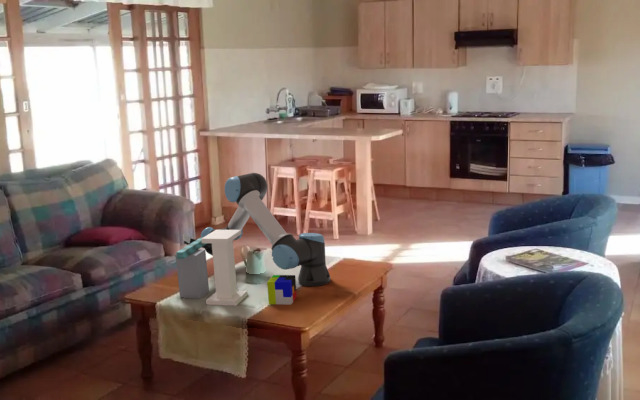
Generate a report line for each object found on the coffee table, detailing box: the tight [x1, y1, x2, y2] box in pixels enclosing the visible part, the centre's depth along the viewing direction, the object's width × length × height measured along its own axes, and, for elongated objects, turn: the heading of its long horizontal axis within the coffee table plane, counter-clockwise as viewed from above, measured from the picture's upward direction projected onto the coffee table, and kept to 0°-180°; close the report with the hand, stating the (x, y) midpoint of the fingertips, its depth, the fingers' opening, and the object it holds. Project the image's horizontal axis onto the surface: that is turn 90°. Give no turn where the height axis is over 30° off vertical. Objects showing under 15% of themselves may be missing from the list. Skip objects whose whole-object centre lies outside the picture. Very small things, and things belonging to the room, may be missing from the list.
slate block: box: [175, 248, 210, 299], centre depth 317 cm, size 10×10×20 cm
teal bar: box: [175, 236, 207, 259], centre depth 317 cm, size 26×3×3 cm, turn 165°
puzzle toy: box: [266, 274, 297, 305], centre depth 303 cm, size 10×10×10 cm
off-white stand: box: [201, 229, 249, 306], centre depth 306 cm, size 16×14×30 cm
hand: (197, 236), depth 322 cm, fingers open, 13 cm apart
